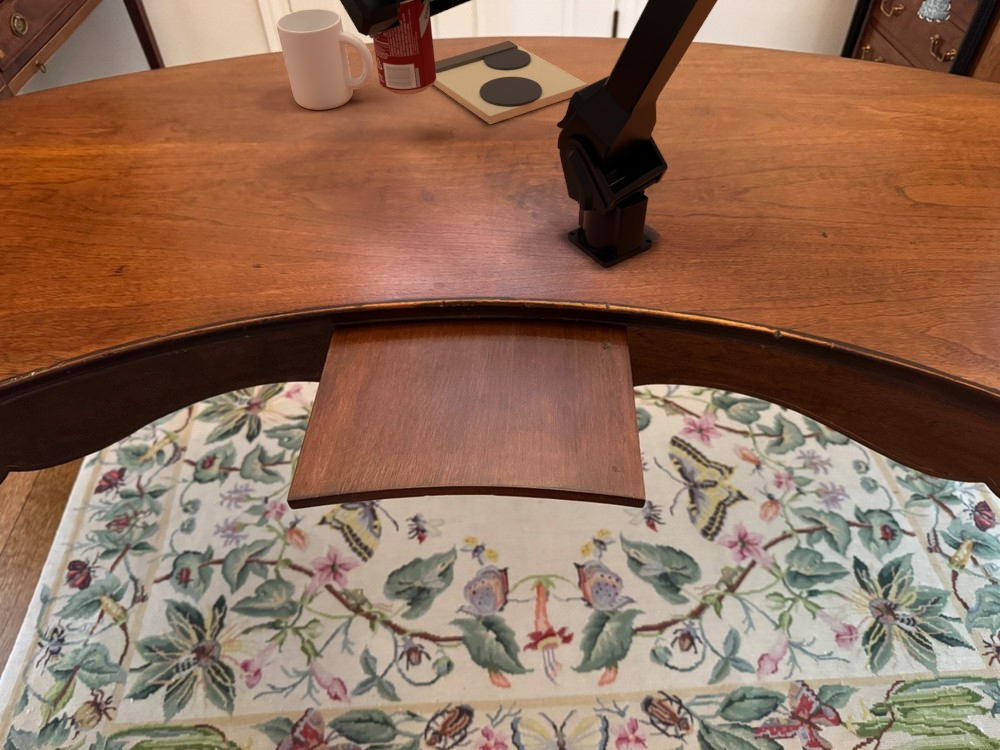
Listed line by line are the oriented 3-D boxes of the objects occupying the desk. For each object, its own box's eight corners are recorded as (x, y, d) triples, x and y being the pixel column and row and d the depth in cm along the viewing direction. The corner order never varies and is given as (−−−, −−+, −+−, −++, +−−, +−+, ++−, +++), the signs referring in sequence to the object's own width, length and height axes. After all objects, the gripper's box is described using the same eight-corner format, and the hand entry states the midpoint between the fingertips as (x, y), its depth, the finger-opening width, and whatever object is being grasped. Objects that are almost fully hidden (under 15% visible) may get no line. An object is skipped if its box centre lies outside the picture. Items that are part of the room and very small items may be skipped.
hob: (587, 92, 98) (588, 79, 97) (490, 125, 92) (490, 112, 91) (513, 50, 109) (513, 38, 108) (422, 77, 103) (421, 64, 102)
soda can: (421, 101, 82) (408, -11, 74) (370, 93, 84) (352, -17, 76) (446, 78, 87) (436, -31, 78) (397, 71, 89) (383, -36, 80)
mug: (387, 88, 101) (377, 11, 93) (368, 115, 95) (355, 35, 88) (308, 83, 103) (291, 6, 95) (284, 109, 97) (265, 30, 90)
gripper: (478, -164, 71) (420, -59, 85) (321, -131, 63) (285, -20, 76) (534, -60, 73) (468, 27, 86) (388, -14, 64) (341, 75, 78)
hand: (394, 25), depth 82 cm, fingers closed on soda can, 7 cm apart
